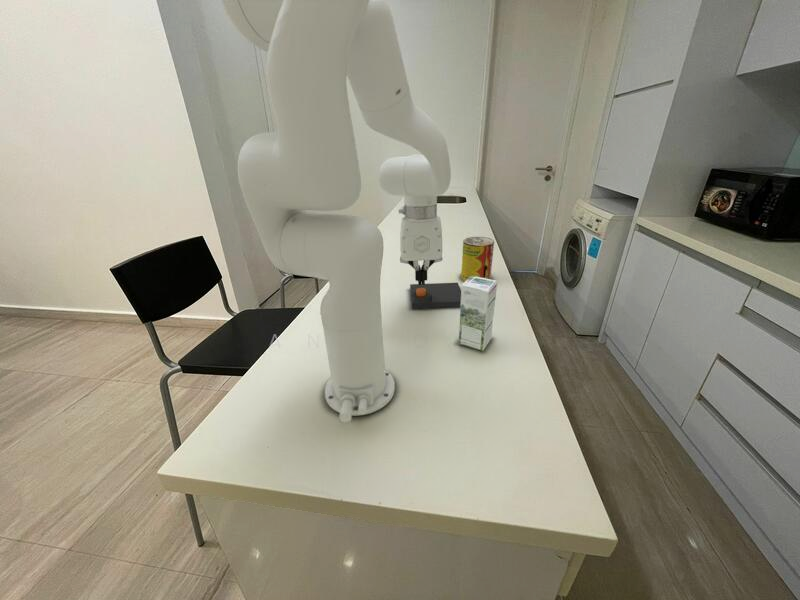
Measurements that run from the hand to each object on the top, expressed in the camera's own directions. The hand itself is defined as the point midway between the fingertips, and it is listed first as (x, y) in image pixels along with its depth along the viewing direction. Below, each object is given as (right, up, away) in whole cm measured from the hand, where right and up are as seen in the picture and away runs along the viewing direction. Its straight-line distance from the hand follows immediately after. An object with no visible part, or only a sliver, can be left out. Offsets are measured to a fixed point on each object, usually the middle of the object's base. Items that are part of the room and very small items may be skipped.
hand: (421, 282), depth 86 cm
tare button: (0, -3, +1) cm, 3 cm away
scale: (+5, -4, +6) cm, 9 cm away
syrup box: (+11, -14, -13) cm, 22 cm away
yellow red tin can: (+18, +2, +18) cm, 26 cm away
